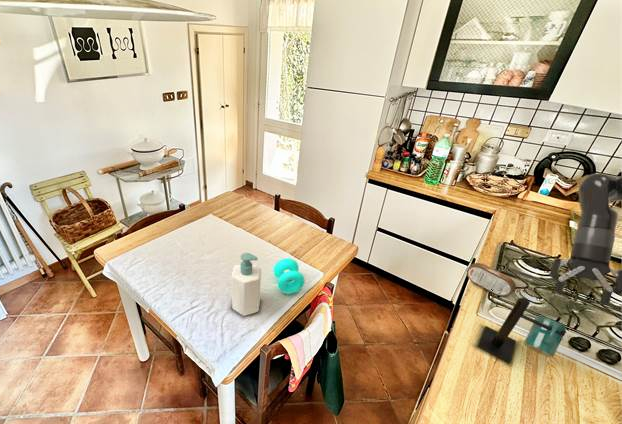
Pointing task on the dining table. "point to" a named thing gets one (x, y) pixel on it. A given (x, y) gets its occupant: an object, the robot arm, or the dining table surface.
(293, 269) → the turquoise dumbbell
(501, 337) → the mug stand
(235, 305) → the soap bottle
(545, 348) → the mug
